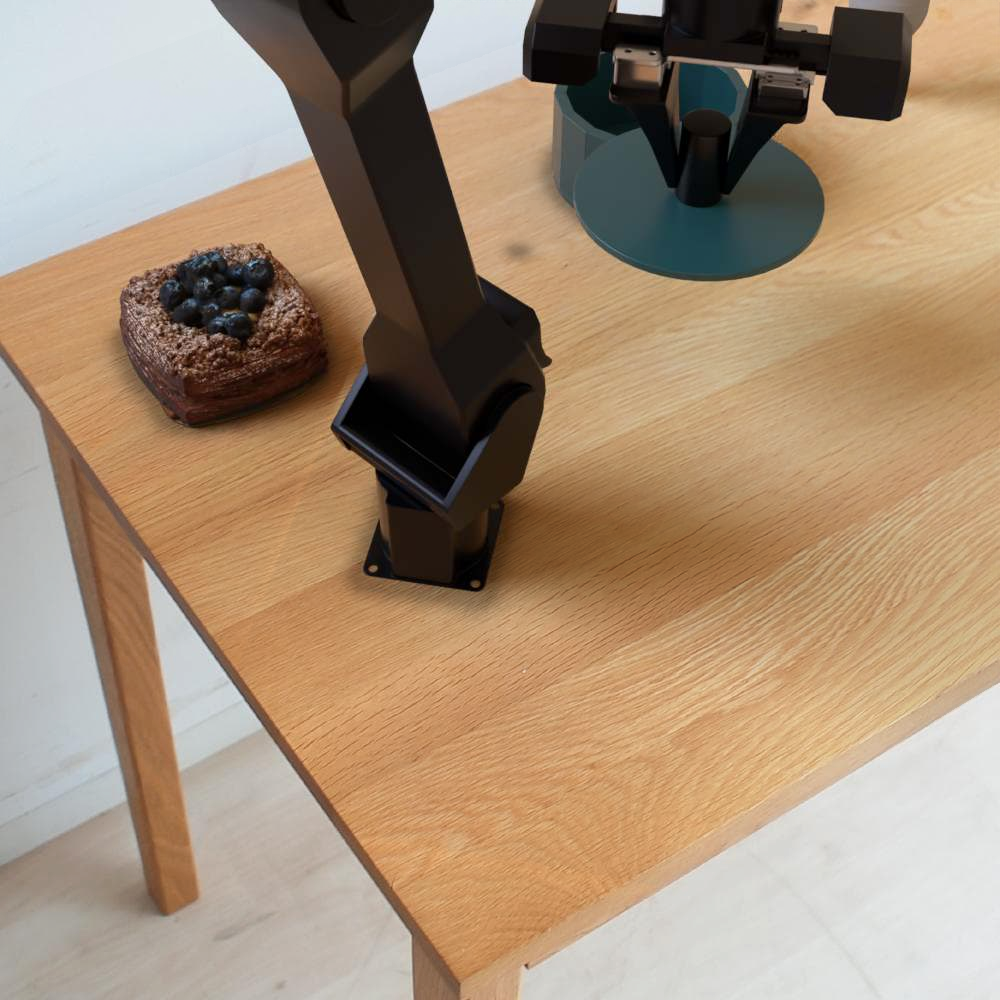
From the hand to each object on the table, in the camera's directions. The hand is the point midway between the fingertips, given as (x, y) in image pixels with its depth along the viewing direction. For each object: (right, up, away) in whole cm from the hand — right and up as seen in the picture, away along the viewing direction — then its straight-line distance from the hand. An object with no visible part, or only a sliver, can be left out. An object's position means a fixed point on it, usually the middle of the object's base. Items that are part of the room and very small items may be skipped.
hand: (699, 186), depth 78 cm
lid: (0, -1, +1) cm, 1 cm away
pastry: (-27, -8, +9) cm, 30 cm away
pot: (-1, +5, +21) cm, 22 cm away
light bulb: (+16, +13, +28) cm, 35 cm away
